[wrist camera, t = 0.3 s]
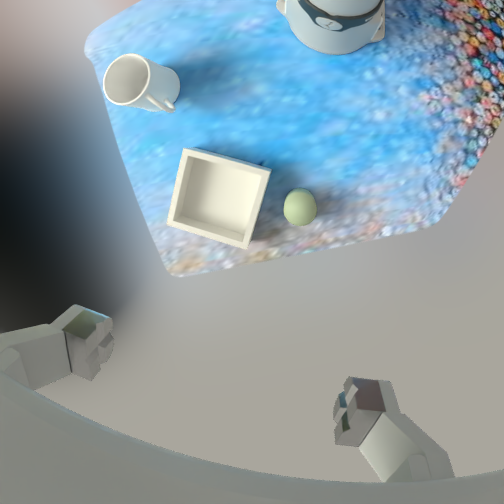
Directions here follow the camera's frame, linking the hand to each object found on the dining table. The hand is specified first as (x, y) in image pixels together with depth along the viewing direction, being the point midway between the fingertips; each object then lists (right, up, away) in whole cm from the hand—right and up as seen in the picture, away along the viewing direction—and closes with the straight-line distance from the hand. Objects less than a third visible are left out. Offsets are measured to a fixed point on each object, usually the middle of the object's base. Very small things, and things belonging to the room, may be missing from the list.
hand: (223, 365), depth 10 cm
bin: (-4, +14, +45) cm, 47 cm away
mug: (-15, +31, +40) cm, 53 cm away
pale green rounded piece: (+9, +12, +43) cm, 46 cm away
